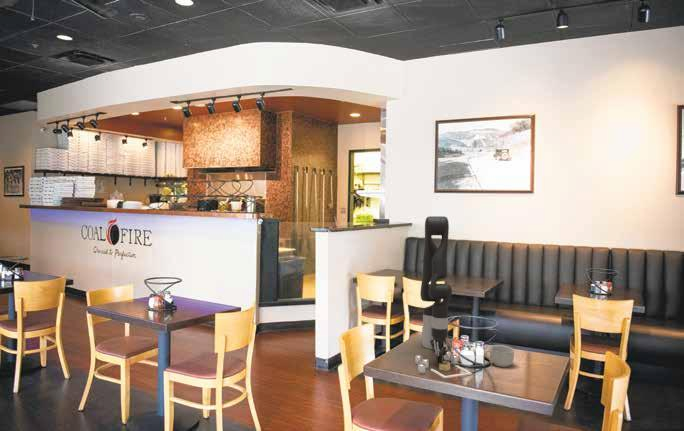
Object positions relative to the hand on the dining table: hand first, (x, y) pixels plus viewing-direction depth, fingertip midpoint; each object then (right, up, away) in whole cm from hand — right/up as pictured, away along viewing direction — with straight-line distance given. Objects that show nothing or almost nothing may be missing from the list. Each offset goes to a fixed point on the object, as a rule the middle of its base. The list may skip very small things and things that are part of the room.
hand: (439, 363), depth 226 cm
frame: (+3, -2, -8) cm, 9 cm away
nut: (+2, -1, -3) cm, 4 cm away
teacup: (+28, -2, +2) cm, 29 cm away
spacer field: (0, -1, 0) cm, 1 cm away
